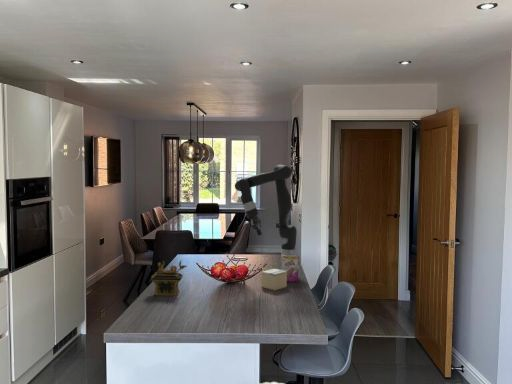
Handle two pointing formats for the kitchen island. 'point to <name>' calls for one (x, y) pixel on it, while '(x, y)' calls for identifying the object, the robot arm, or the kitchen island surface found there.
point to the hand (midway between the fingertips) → (260, 235)
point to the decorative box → (167, 280)
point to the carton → (274, 281)
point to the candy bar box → (290, 267)
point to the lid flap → (274, 271)
